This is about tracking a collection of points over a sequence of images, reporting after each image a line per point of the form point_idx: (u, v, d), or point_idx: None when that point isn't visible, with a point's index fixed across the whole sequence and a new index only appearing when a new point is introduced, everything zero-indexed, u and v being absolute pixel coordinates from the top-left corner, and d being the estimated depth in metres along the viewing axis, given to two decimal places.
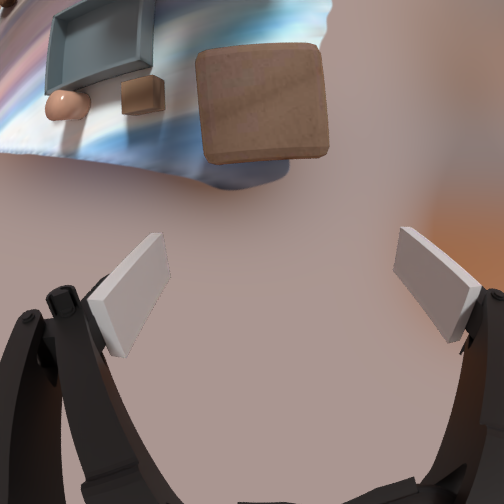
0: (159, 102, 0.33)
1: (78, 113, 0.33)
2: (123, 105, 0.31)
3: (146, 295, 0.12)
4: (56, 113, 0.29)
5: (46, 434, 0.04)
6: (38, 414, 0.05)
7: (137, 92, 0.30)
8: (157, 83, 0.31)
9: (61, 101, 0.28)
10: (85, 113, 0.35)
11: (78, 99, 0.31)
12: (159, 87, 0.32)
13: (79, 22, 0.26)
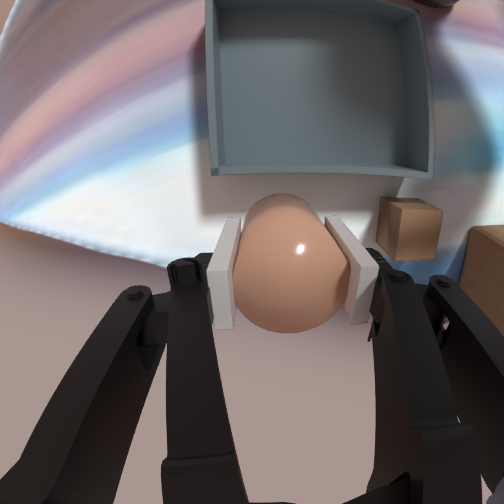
0: None
1: None
2: (399, 248, 0.22)
3: None
4: (298, 314, 0.12)
5: (122, 420, 0.06)
6: (121, 399, 0.06)
7: (421, 232, 0.22)
8: None
9: (326, 282, 0.11)
10: None
11: None
12: None
13: (252, 21, 0.18)
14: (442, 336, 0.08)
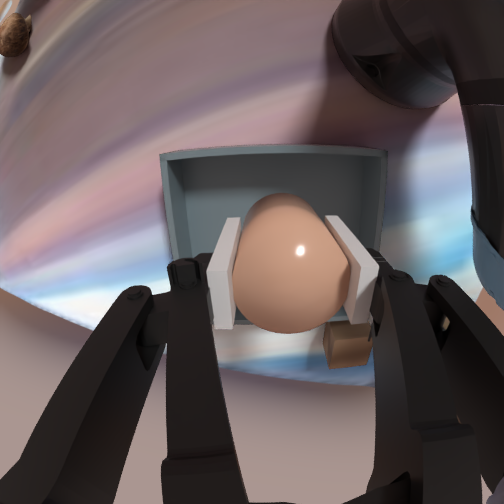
0: None
1: None
2: (333, 362, 0.30)
3: None
4: (299, 315, 0.12)
5: (123, 420, 0.06)
6: (121, 399, 0.06)
7: (353, 351, 0.29)
8: None
9: (326, 282, 0.11)
10: None
11: None
12: None
13: (213, 170, 0.25)
14: (442, 336, 0.08)
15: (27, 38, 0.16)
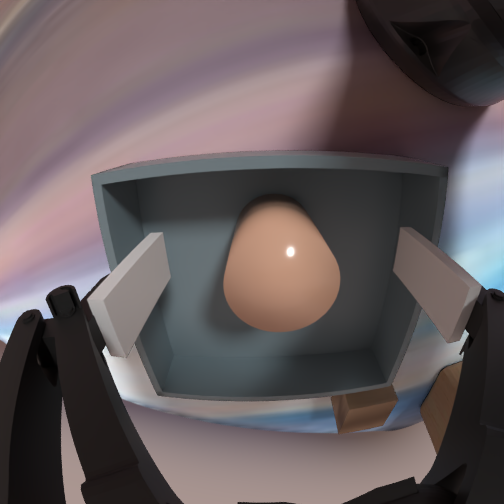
0: None
1: None
2: (344, 428, 0.21)
3: (146, 295, 0.12)
4: (290, 314, 0.12)
5: (46, 434, 0.04)
6: (38, 414, 0.05)
7: (369, 416, 0.20)
8: None
9: (316, 282, 0.11)
10: None
11: None
12: None
13: (181, 191, 0.17)
14: None
15: None
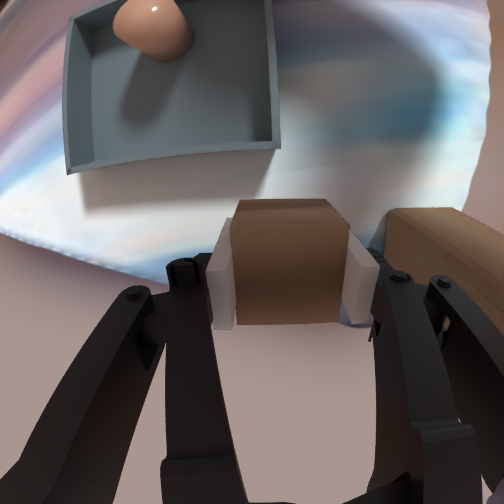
0: None
1: (177, 45, 0.17)
2: (242, 303, 0.13)
3: None
4: (145, 27, 0.13)
5: (122, 420, 0.06)
6: (120, 399, 0.06)
7: (293, 274, 0.12)
8: None
9: (160, 8, 0.12)
10: (184, 51, 0.19)
11: (184, 19, 0.15)
12: None
13: None
14: (443, 336, 0.08)
15: None
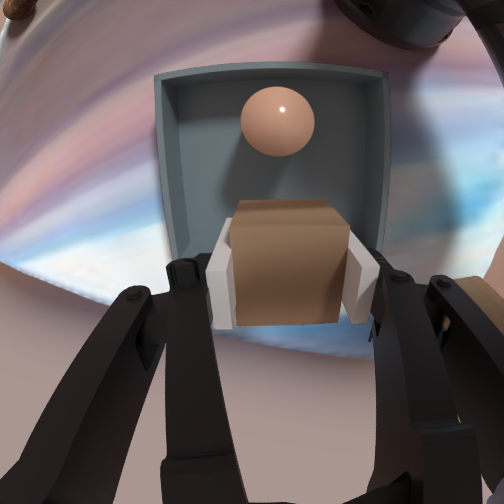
0: None
1: None
2: (242, 304, 0.13)
3: None
4: (283, 141, 0.17)
5: (121, 420, 0.06)
6: (120, 399, 0.06)
7: (293, 274, 0.12)
8: None
9: (298, 118, 0.17)
10: None
11: None
12: None
13: (209, 99, 0.22)
14: (443, 336, 0.08)
15: (34, 1, 0.13)
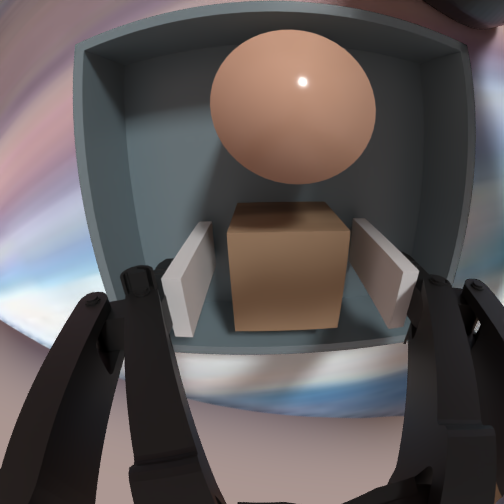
0: None
1: None
2: (240, 310, 0.12)
3: (203, 278, 0.13)
4: (309, 149, 0.07)
5: (92, 423, 0.05)
6: (87, 402, 0.05)
7: (292, 280, 0.12)
8: None
9: (343, 99, 0.07)
10: None
11: None
12: None
13: (172, 78, 0.12)
14: (472, 339, 0.08)
15: None
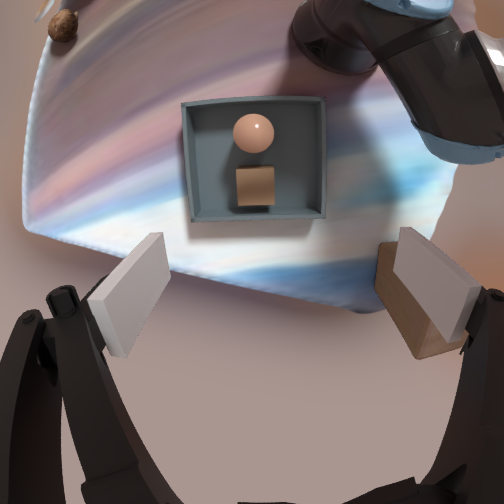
0: None
1: None
2: (239, 196, 0.36)
3: (146, 295, 0.12)
4: (256, 144, 0.31)
5: (46, 434, 0.04)
6: (38, 414, 0.05)
7: (256, 184, 0.36)
8: None
9: (265, 131, 0.31)
10: None
11: None
12: None
13: (214, 117, 0.36)
14: None
15: (76, 29, 0.27)
